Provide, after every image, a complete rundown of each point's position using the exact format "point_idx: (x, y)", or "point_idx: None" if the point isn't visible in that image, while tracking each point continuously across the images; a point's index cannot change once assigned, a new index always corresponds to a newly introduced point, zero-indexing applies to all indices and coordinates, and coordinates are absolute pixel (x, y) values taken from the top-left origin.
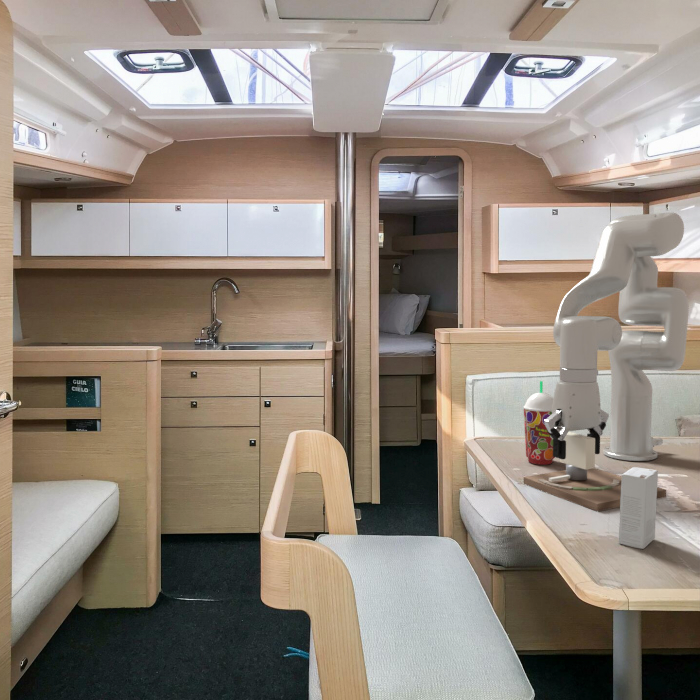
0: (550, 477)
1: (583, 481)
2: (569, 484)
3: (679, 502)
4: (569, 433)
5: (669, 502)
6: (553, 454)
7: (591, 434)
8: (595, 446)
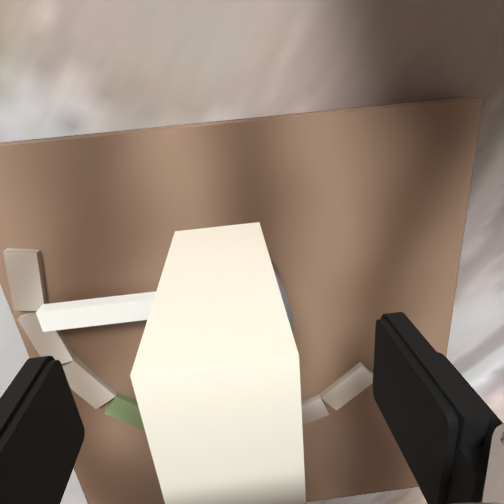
0: (111, 219)
1: None
2: (138, 345)
3: (401, 500)
4: (231, 432)
5: (376, 494)
6: (26, 370)
7: (457, 466)
8: (394, 423)
